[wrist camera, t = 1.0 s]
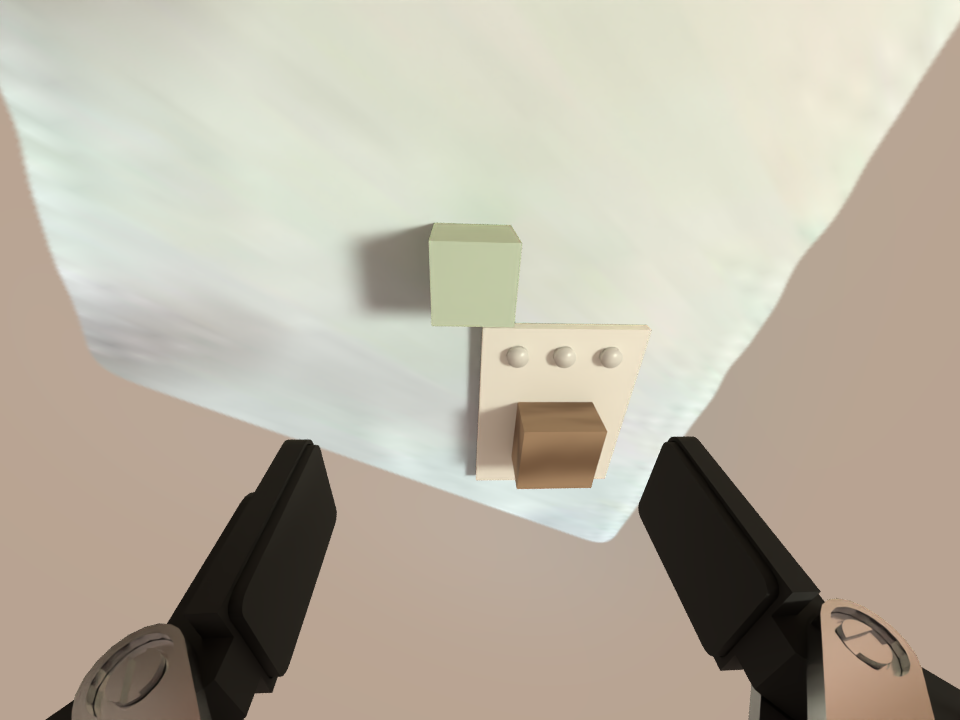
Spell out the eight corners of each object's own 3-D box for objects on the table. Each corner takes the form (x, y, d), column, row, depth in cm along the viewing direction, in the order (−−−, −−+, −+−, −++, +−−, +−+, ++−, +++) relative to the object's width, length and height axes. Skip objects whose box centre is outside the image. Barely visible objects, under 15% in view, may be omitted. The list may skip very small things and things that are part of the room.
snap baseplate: (482, 322, 30) (483, 331, 28) (646, 324, 31) (655, 333, 29) (475, 472, 39) (476, 484, 38) (601, 471, 40) (606, 483, 39)
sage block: (434, 222, 26) (428, 240, 21) (511, 224, 26) (522, 243, 21) (436, 295, 28) (431, 326, 24) (505, 296, 29) (514, 327, 24)
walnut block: (517, 402, 33) (524, 432, 30) (592, 401, 33) (607, 431, 30) (511, 456, 37) (516, 488, 33) (578, 455, 37) (590, 487, 34)
